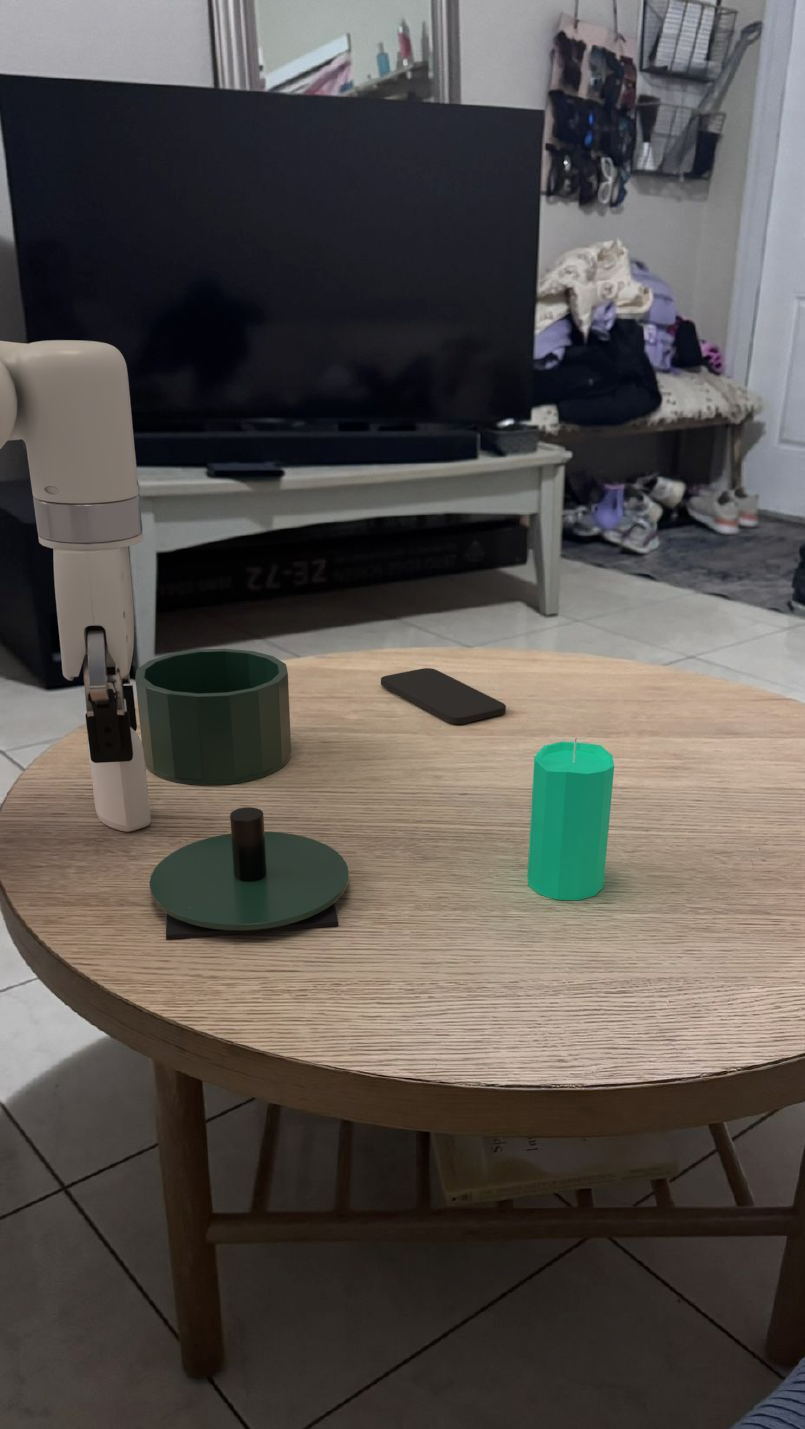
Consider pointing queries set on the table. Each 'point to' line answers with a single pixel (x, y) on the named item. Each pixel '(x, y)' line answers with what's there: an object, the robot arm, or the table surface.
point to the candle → (570, 820)
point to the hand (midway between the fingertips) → (114, 743)
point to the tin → (214, 716)
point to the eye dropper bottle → (122, 789)
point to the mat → (185, 930)
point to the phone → (443, 695)
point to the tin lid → (249, 877)
